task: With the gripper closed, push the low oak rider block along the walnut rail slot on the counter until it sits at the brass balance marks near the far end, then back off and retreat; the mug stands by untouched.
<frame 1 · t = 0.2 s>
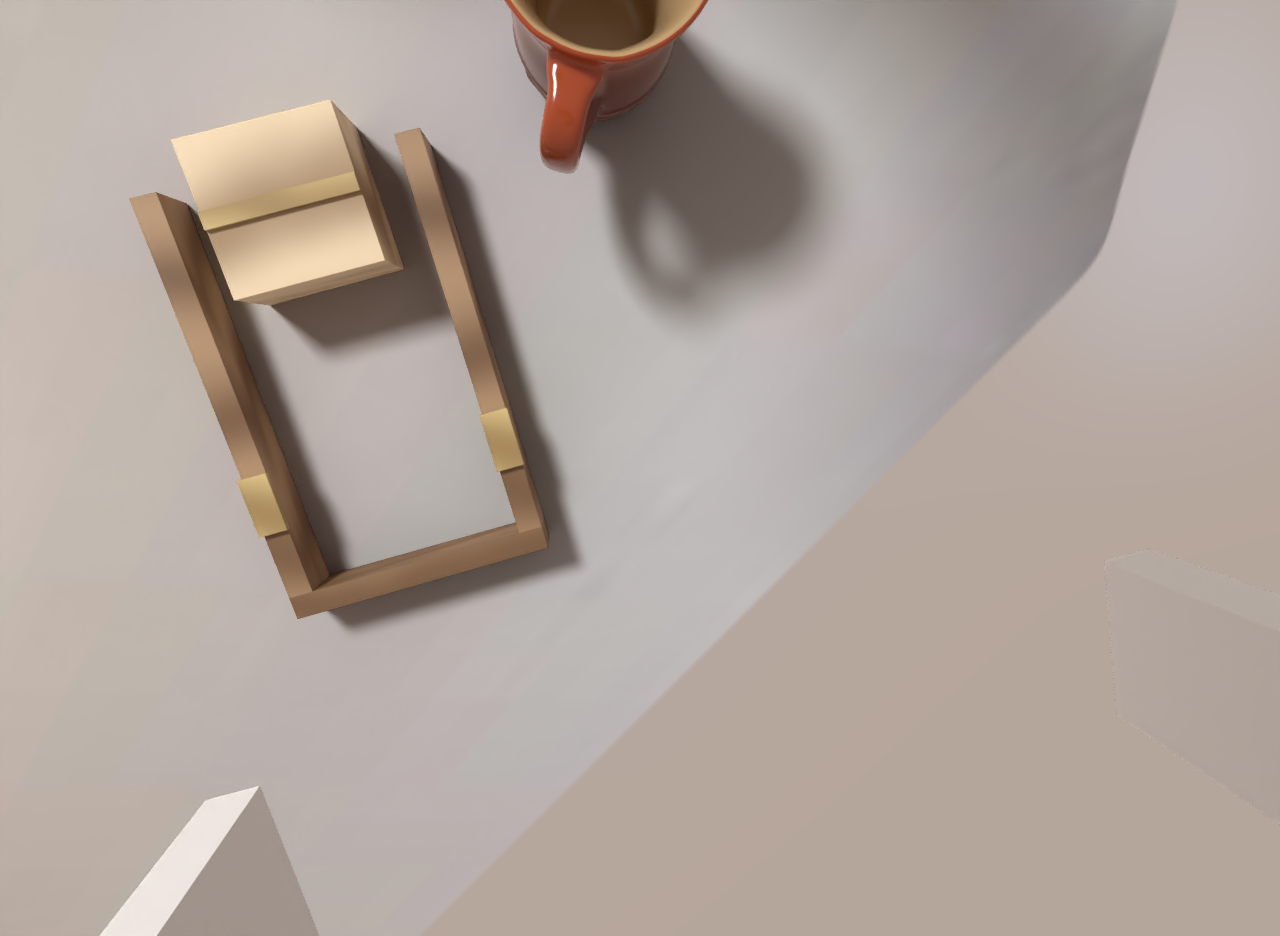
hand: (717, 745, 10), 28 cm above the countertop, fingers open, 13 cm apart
beam slot: (366, 373, 35), on the countertop
mug: (584, 85, 34), on the countertop
rider: (314, 218, 33), on the countertop
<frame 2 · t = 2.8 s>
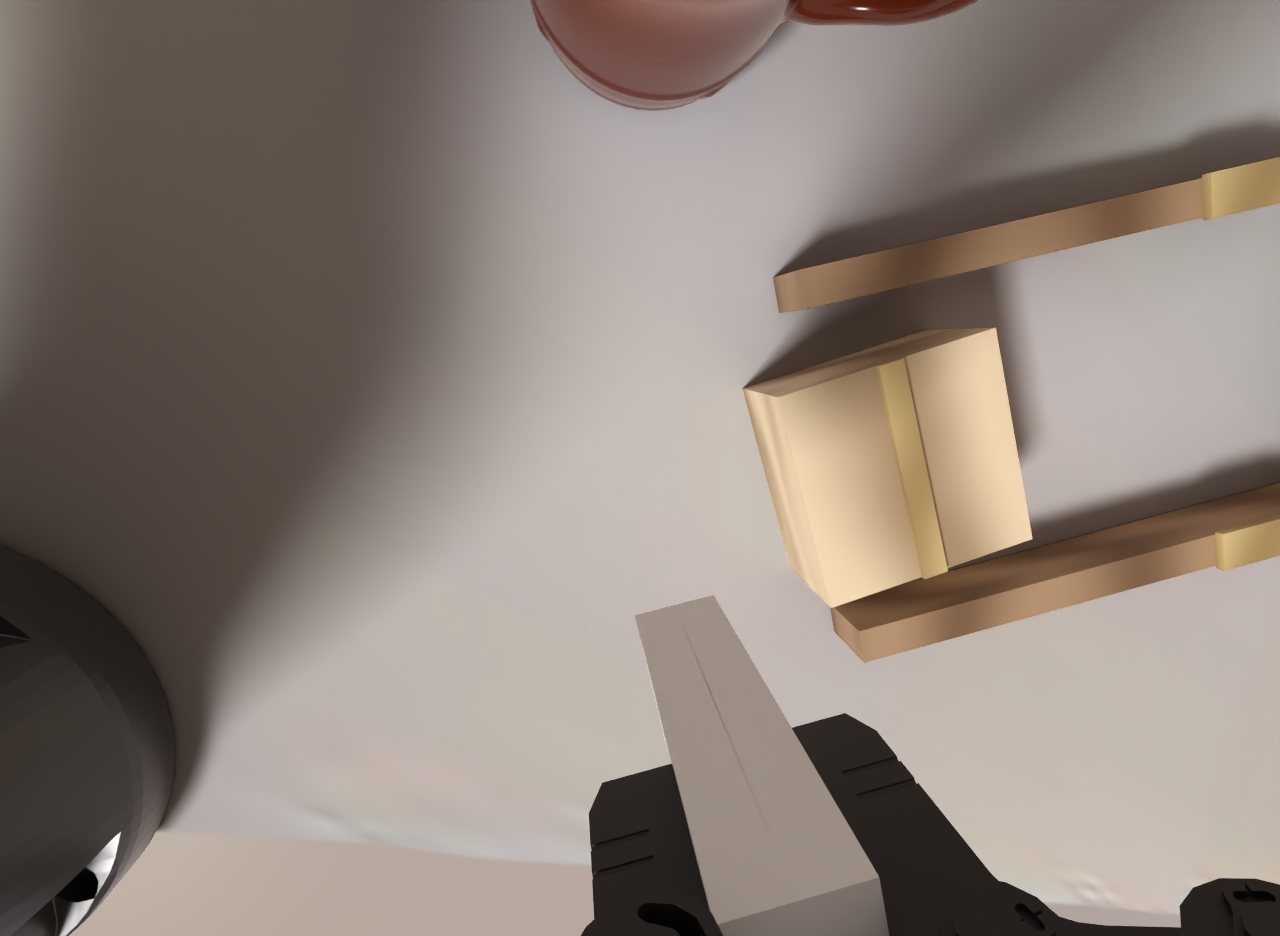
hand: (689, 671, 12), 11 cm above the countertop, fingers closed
beam slot: (1060, 401, 25), on the countertop
mug: (694, 18, 21), on the countertop
rider: (854, 450, 24), on the countertop
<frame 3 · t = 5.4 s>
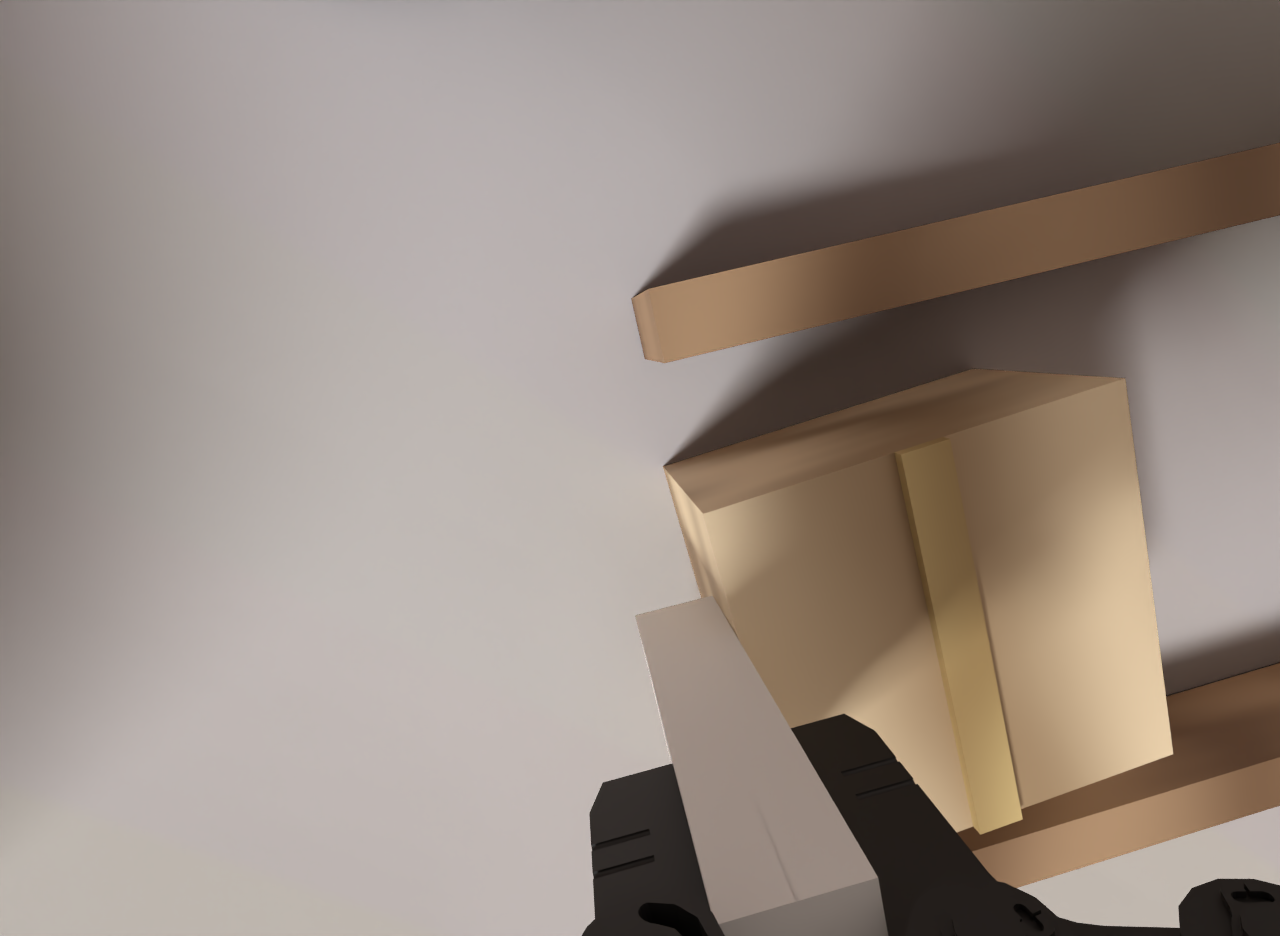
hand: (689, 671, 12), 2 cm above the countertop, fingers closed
beam slot: (1120, 494, 15), on the countertop
rider: (853, 564, 15), on the countertop, touching gripper
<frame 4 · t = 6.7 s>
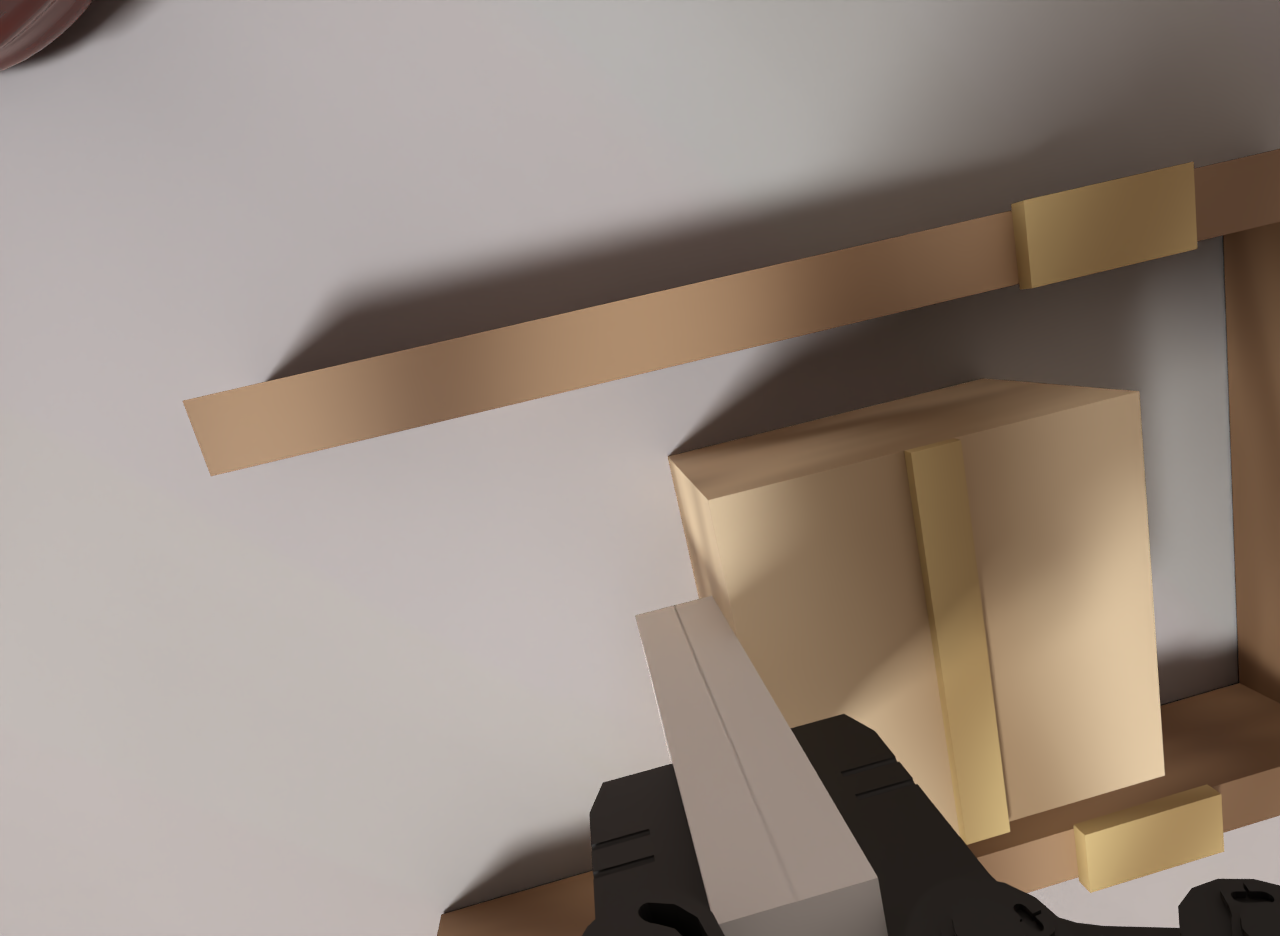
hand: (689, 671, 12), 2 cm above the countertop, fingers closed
beam slot: (819, 581, 14), on the countertop
rider: (852, 568, 15), on the countertop, touching gripper
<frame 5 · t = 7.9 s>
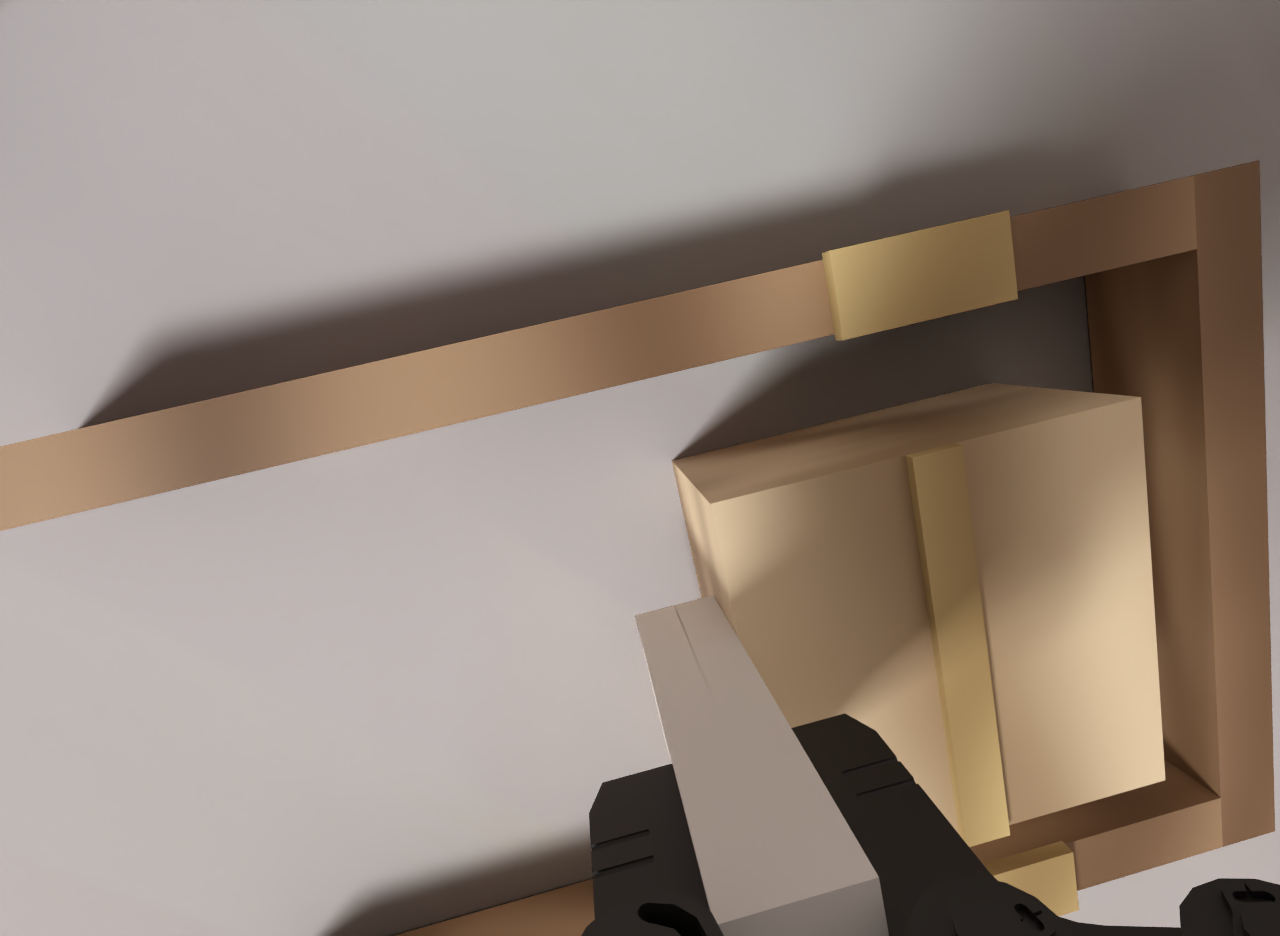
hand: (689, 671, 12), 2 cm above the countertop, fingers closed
beam slot: (673, 627, 14), on the countertop
rider: (853, 571, 15), on the countertop
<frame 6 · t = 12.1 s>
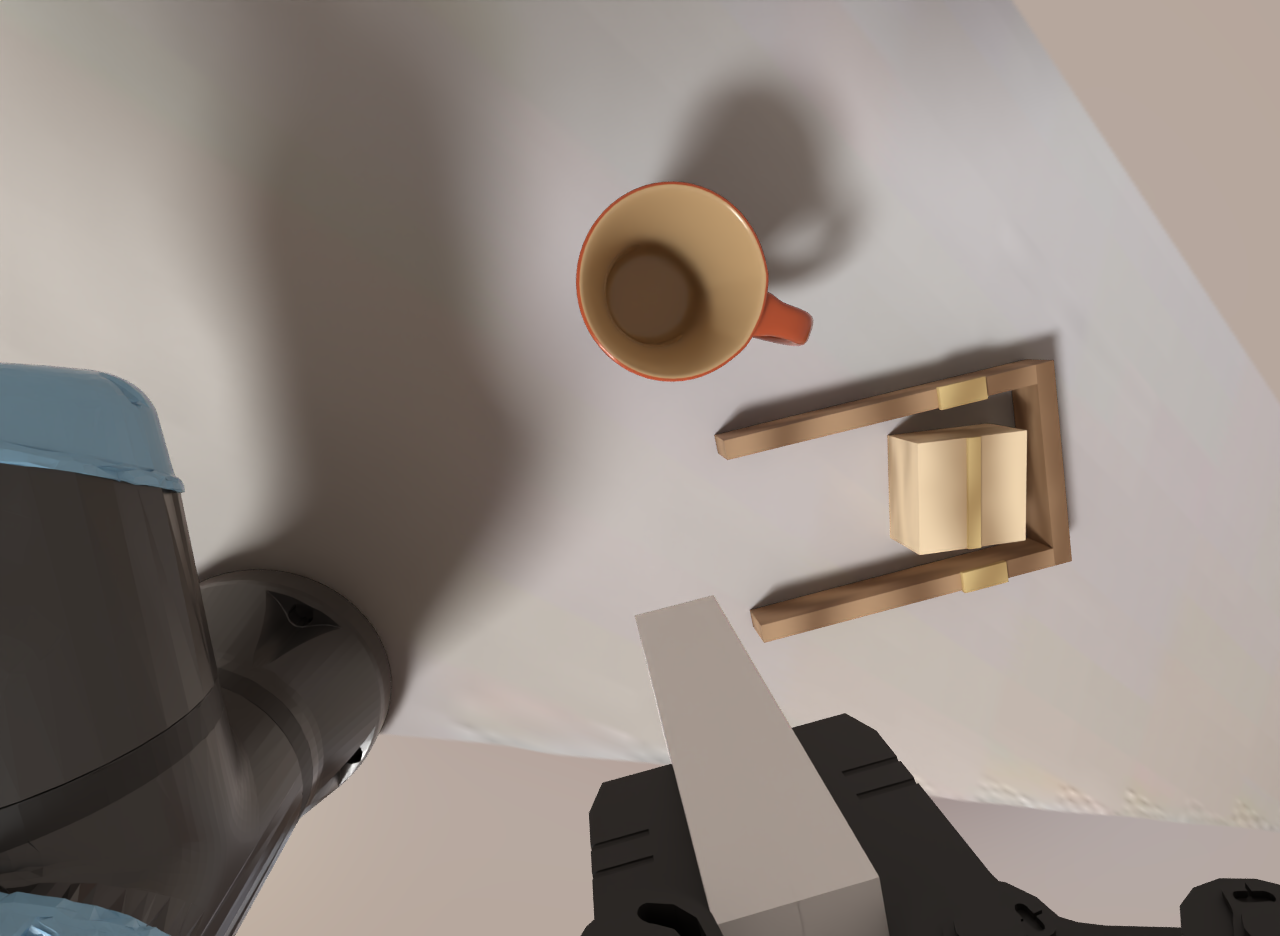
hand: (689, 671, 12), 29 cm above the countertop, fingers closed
beam slot: (878, 497, 44), on the countertop
mug: (671, 307, 40), on the countertop
rider: (936, 480, 44), on the countertop
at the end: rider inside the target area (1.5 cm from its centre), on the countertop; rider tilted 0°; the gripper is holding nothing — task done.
